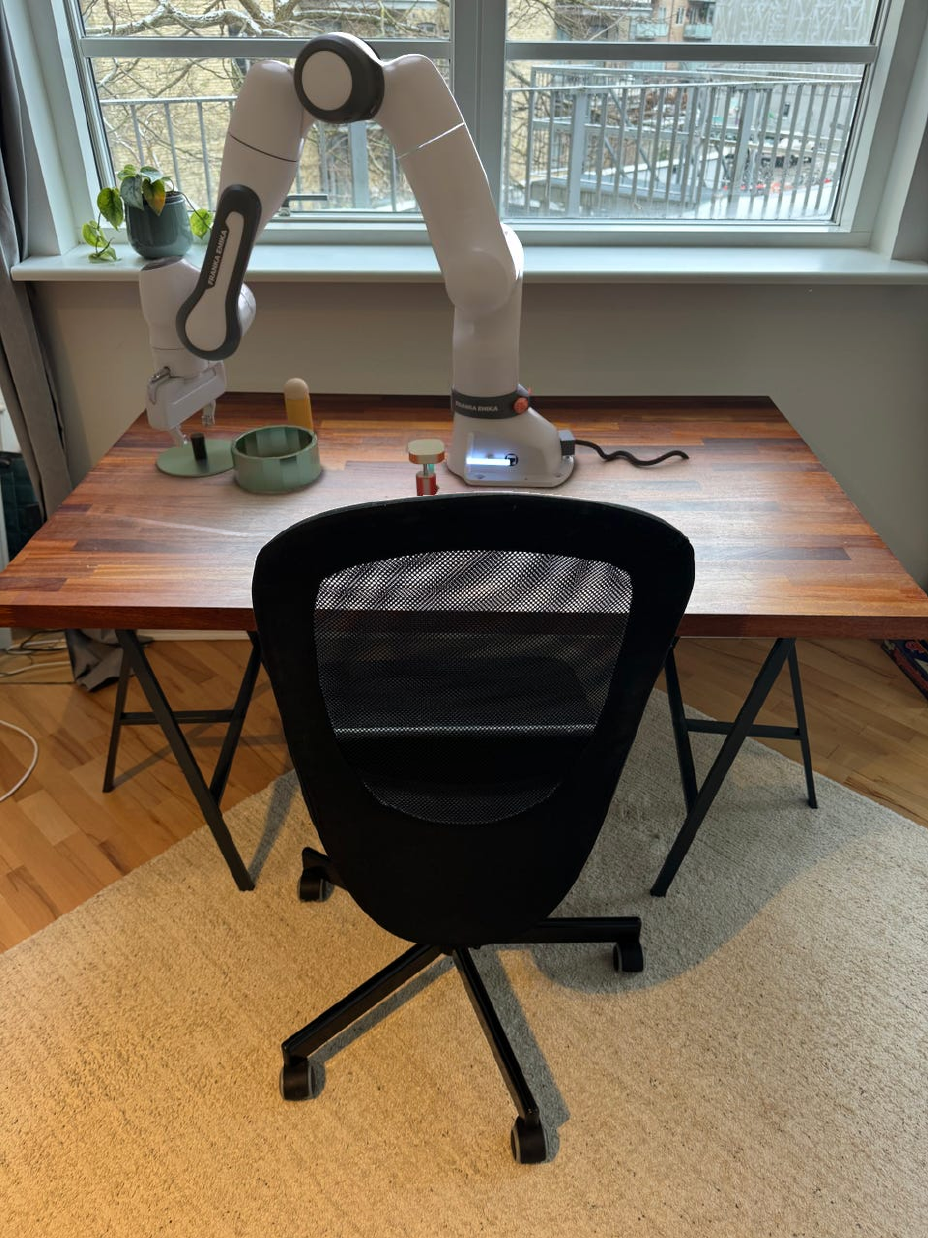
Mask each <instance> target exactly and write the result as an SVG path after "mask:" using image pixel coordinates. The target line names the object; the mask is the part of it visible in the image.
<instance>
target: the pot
mask: <svg viewBox="0 0 928 1238" xmlns="http://www.w3.org/2000/svg"><path fill="white" fill-rule="evenodd" d="M318 440H319V439H318V435H317V434H315V432H312V431H311V430H309V429H306V428H303V427H300V426H292V425H288V424H275V425H266V426H261V427H255V428H251V429H250V430H247V431H245V432H242V433H240V434H238V435H237V436H236V437H234V439H233V440H232V439H231V441H232V442H231V446H230V450H231V456H232V461H233V471H234V477H235V480H236V482H237V483H238V485H239V486H240V487H242V488H245V489H248V490H250V491H252V492H262V493H277V492H286V491H290V490H291V491H292V490H295V489H300V488H303V487H306V486H308V485H309V484H311V483H313V482H315V481H316V480H317V479H318V478H319V477H320V475H321V469H322V465H321V457H320V450H319V449H320V448H319V442H318Z"/></svg>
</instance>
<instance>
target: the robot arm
mask: <svg viewBox="0 0 928 1238" xmlns="http://www.w3.org/2000/svg"><path fill="white" fill-rule="evenodd" d="M231 111H232V112H231V114H230V119H229V123H228V127H227V131H226V135H225V140H224V145H223V151H222V158H221V164H220V165H221V166H220V172H219V173H220V175H219V183H218V190H217V196H216V197H217V198H216V206H215V212H214V219H213V223H212V227H211V232H210V235H209V238H208V243H207V246H206V250H205V254H204V257H203V261H202V265H201V267H199V266H197V265H195V264H193V263H192V262H190V261H189V260H188V259H187V258H185V257H183V256H180V255H167V256H164V257H163V256H162V257H160V258H156V259H155V260H151V261H150V262H147V264H145V265H143V267H142V268H141V270H140V271H139V274H138V286H139V297H140V302H141V309H142V313H143V318H144V321H145V322H146V324H147V327H148V331H149V347H150V351H151V355H152V360H153V365H154V369H155V370H154V371H155V372H156V373H152V374H151V375H150V376H149V378H148V379H149V380H148V382H147V384H146V386H145V387H146V388H145V391H144V400H145V408H146V417H147V421H148V425H149V426H150V427H151V428H152V429H153V430H157V431H165V432H167V433H168V434H169V435H170V436H171V438H172V440H173V445H174V446H176V447H183V446H184V445H186V444H187V442H188V438H187V434H183V433H182V432H181V429H182V425H181V424H182V423H183V422H184V421H186V420H187V419H188V418H190V417H191V416H194V414H196V413H197V412H199V411H200V410H202V416H200V419H201V424H202V426H203V427H212V426H213V425H215V424H216V421H215V411H216V405H217V401H216V399H218V398H219V397H221V396H222V395H224V394H225V393H226V389H227V384H228V383H227V375H226V369H225V363H224V360H227V359H228V358H230V357H231V356H233V355H234V354H235V353H236V351H237V350H238V348H239V346H240V344H241V342H242V339H243V338H244V336H245V335H246V334H247V332H248V331H249V329H250V328H251V326H252V325H253V322H254V321H255V319H256V316H257V311H258V307H257V301H256V297H255V295H254V293H253V291H252V290H251V289H250V286H248V285H247V284H246V283H245V282H244V281H245V279H246V276H247V275H246V273H247V271H248V267H249V264H250V260H251V256H252V254H253V251H254V248H255V245H256V243H257V241H258V239H259V237H260V235H261V234H262V233H263V231H264V229H265V228H266V227H267V225H268V224H269V223H270V221H271V220H272V219H273V217H274V216H275V215H276V214H277V212H278V211H279V210H280V208H281V207H282V206H283V204H284V203H285V201H286V199H287V197H288V195H289V193H290V191H291V189H292V186H293V184H294V182H295V179H296V176H297V173H298V171H299V166H300V163H301V160H302V155H303V153H304V148H305V144H306V141H307V138H308V135H309V133H310V130H311V129H312V127H313V126H314V124H315V123H317V121H320V122H321V123H324V124H328V125H329V124H330V125H347V124H353V123H356V122H363V121H369V120H373V121H375V122H376V123H378V124H379V125H380V126H381V128H382V129H383V131H384V132H385V134H386V136H387V138H388V139H389V142H390V144H391V146H392V149H393V151H394V154H395V156H396V158H397V160H398V163H399V165H400V167H401V169H402V171H403V173H404V176H405V179H406V180H407V183H408V185H409V187H410V189H411V191H412V194H413V197H414V198H415V200H416V203H417V205H418V207H419V210H420V212H421V216H422V218H423V220H424V224H425V227H426V231H427V234H428V238H429V241H430V244H431V247H432V250H433V253H434V256H435V259H436V262H437V265H438V268H439V270H440V273H441V276H442V279H443V282H444V287H445V291H446V293H447V296H448V299H449V300H450V302H451V303H452V305H453V306H454V314H453V315H454V317H453V332H452V339H451V340H452V370H453V371H452V373H453V375H452V376H453V384H452V386H451V388H450V389H451V392H450V410H451V417H452V419H453V422H452V423H453V424H452V433H451V442H450V448H449V452H448V456H447V459H446V466H447V468H448V469H449V470H450V471H451V472H452V473H454V474H455V475H457V476H459V477H460V478H462V479H463V481H464V482H465V483H466V484H467V485H470V486H488V487H489V486H490V487H522V488H523V487H525V488H526V487H527V488H529V487H530V488H554V487H557V486H559V485H560V484H562V483H564V482H566V480H567V479H569V477H570V476H571V474H572V472H573V470H574V466H575V462H574V456H575V455H576V446H581V447H582V446H583V447H588V448H591V449H593V450H595V451H596V453H597V454H598V455H599V457H600V458H601V459H603V460H605V461H610V460H613V459H614V458H616V457H620V456H621V457H625V458H627V459H628V460H629V461H630V462H631V463H633V464H635V465H637V466H641V467H650V466H655V465H657V464H661V463H662V462H664V461H665V460H667V459H670V458H672V457H675V456H678V457H680V458H682V459H683V460H689V459H690V457H689V455H688V454H687V453H685V452H684V451H683V450H679V449H673V450H670V451H668V452H666V453H664V454H662V455H660V456H658V457H656V458H652V459H650V460H644V459H643V460H641V459H639V458H637V457H636V456H635V455H633V453H631V452H629V451H627V450H621V449H619V450H616V451H615V450H614V451H613V452H611V453H609V454H608V453H605V452H604V450H603V449H602V447H601V446H600V445H598V444H596V443H595V442H592V441H589V440H583V439H577V438H575V437H574V436H575V435H573V432H572V431H571V429H557V427H556V426H555V425H554V424H553V423H551V422H550V421H548V420H547V419H546V418H545V417H543V416H542V415H541V414H540V413H538V412H537V411H536V410H534V409H533V408H532V407H531V395H532V387H528V389H525V387H523V386H522V385H521V384H520V382H519V381H520V379H519V378H520V336H521V335H520V332H521V317H522V299H523V297H522V295H523V276H524V274H523V273H524V251H523V246H522V243H521V241H520V239H519V237H518V235H517V234H516V232H514V230H513V229H512V228H511V227H509V226H508V225H507V224H505V223H503V222H501V221H500V217H499V214H498V211H497V207H496V204H495V202H494V198H493V195H492V192H491V188H490V184H489V178H488V176H487V173H486V171H485V168H484V166H483V163H482V161H481V158H480V156H479V153H478V151H477V149H476V145H475V144H474V141H473V138H472V136H471V134H470V131H469V128H468V126H467V124H466V122H465V119H464V117H463V114H462V111H461V110H460V108H459V106H458V104H457V101H456V99H455V97H454V95H453V94H452V92H451V90H450V88H449V86H448V84H447V83H446V81H445V79H444V77H443V75H442V73H440V71H439V70H438V68H437V67H436V65H435V64H434V62H433V61H432V60H431V59H430V58H429V57H427V56H425V55H423V54H418V53H410V54H404V55H401V56H399V57H397V58H395V59H393V60H390V61H382V59H381V57H380V55H379V53H378V52H377V51H376V49H375V48H374V47H373V46H372V45H371V44H370V43H368V42H367V41H366V40H364V39H363V38H360V37H358V36H354V35H353V34H350V33H347V32H341V31H336V32H328V33H323V34H322V33H321V34H319V35H316V36H314V37H312V38H311V39H309V40H307V42H305V44H304V45H303V46H302V47H301V48H300V50H299V52H298V54H297V55H296V59H295V61H294V65H290V64H287V63H285V62H282V61H279V60H274V59H263V60H259V61H256V62H255V63H253V64H252V65H251V66H250V67H249V68H248V70H247V72H246V74H245V76H244V79H243V81H242V83H241V86H240V88H239V91H238V93H237V95H236V99H235V102H234V104H233V108H232V110H231Z"/></svg>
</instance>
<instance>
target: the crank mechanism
mask: <svg viewBox="0 0 928 1238" xmlns="http://www.w3.org/2000/svg"><path fill="white" fill-rule="evenodd" d="M407 448H408V449H407V451H408V461H409V462H410V463H411V464H414V465H422V469H423V470H419V471H417V472H416V473H415V483H416V484H415V488H416V489H415V490H416V496H423V495H435V494H437V493H438V491H439V490H440V486H439V485H438V484H437V474H436V472H435V467H434V466H435V464H440V463H442V462H443V461H444V460H445V458H446V452H445V451H446V450H445V442H444V441H443V440H441V439H438V438H425V439H414V440H412V441H409V443H408V444H407ZM437 495H438V494H437Z"/></svg>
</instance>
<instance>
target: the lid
mask: <svg viewBox="0 0 928 1238" xmlns="http://www.w3.org/2000/svg"><path fill="white" fill-rule="evenodd" d="M189 438H190V441H187V444H186V445H184V446H183V447H176V446H175V445H174V446H172V447H170V448H168V449H166V450H165V451H163V452H162V453H160V454H159V456H158V457H157V459H156V465H157V468H158V469H159V471H161V472H162V473H163V474H165V475H169V476H171V477H178V478H200V477H208V476H213V475H217V474H220V473H224V472H226V471H229V470H231V469H234V467H233V461H232V456H231V450H230V446H231V442H232V440H228V439H220V438H207V439H205V434H204V433H202V432H196V433H195V432H194V433H192V434H190V436H189Z"/></svg>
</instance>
